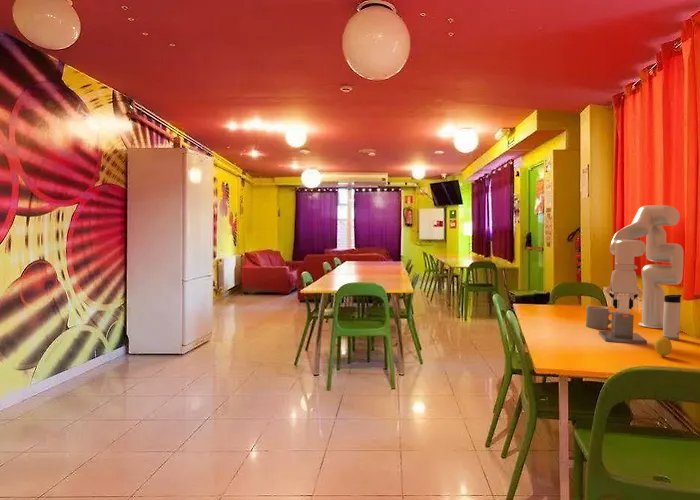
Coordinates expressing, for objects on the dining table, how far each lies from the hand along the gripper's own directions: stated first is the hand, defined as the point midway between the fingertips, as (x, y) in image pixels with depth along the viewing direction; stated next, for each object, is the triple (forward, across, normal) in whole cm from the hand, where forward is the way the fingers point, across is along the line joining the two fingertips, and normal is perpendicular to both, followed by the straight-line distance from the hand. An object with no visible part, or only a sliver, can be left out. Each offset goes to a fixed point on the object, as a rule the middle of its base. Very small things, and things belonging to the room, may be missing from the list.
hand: (622, 308), depth 221 cm
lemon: (+14, -8, +30) cm, 34 cm away
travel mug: (+14, -22, -9) cm, 28 cm away
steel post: (+12, 0, 0) cm, 12 cm away
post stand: (+14, 0, 0) cm, 14 cm away
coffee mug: (+14, +4, -26) cm, 30 cm away
